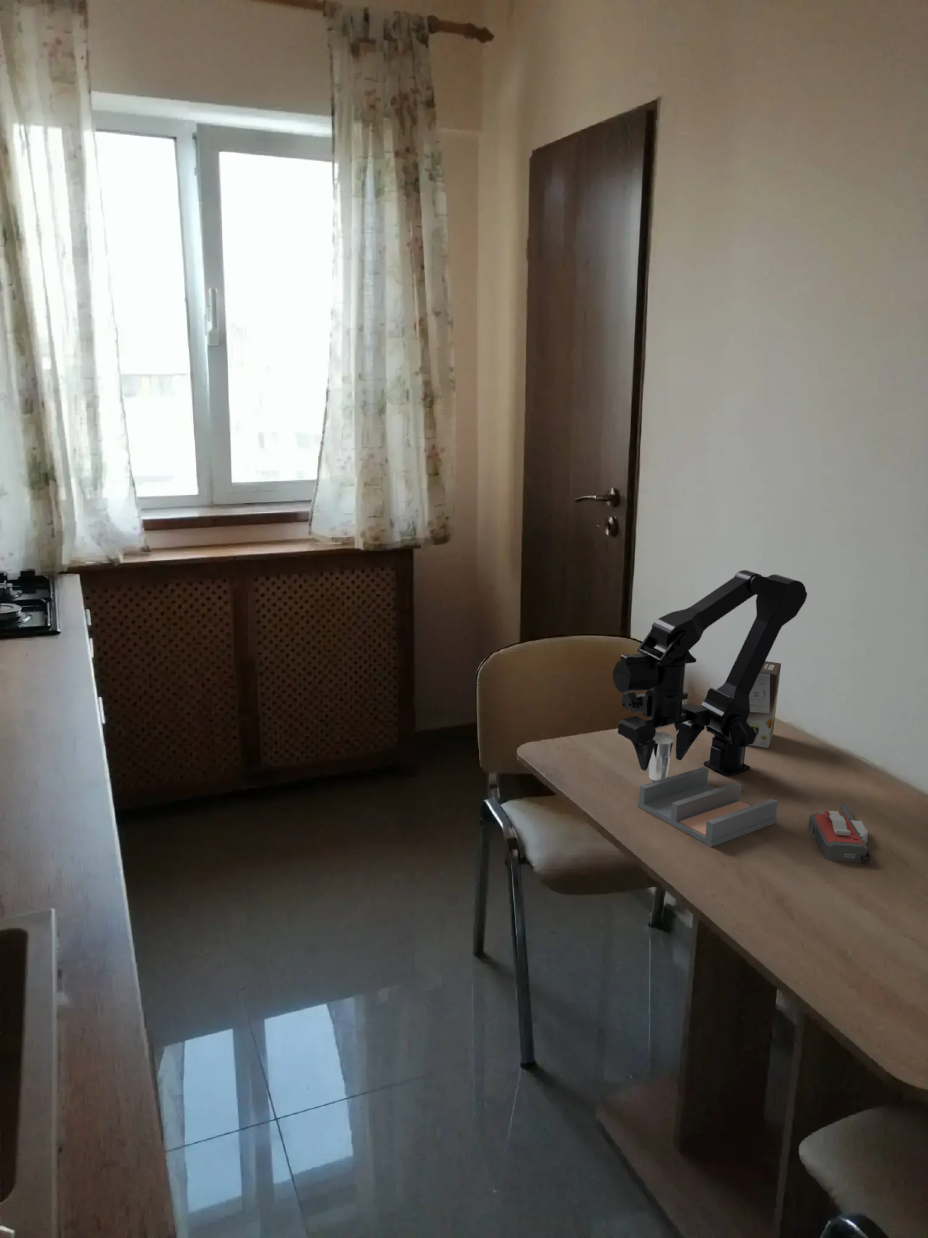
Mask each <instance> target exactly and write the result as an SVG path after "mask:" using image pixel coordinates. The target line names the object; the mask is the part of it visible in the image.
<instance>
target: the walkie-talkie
mask: <svg viewBox="0 0 928 1238" xmlns="http://www.w3.org/2000/svg"><path fill="white" fill-rule="evenodd" d="M839 808H840V809H841V811H842V813H843V814H842V813H841V811H837V810H825V811H824V813H818V812H817V813H816V812H815V813H811V814H810V815H809V820H808V827H807V828H808V830H809V832H810V833H811V835H812V837H813V839H814V841H815V843H816V845H817V847H818V848H819V850H820V852H821V854H822V856H823V858H824V859H826V860H828V861H839V862H850V863H851V862H853V863H871V862H872V855H871V854H870V852H869V847H868V845H866V844H867V842H868V836H869V831H868V830H867V828H866V826H865V825H864V824H865V823H864V822H863V821H862V820H857V819H855V818H854V816H853V815H852V812H851V811H850V810H849V808H848V807H847V805H846V803H844V802H841V803H840V804H839Z"/></svg>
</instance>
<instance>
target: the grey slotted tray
mask: <svg viewBox="0 0 928 1238" xmlns="http://www.w3.org/2000/svg"><path fill="white" fill-rule="evenodd" d="M708 777H709V768H708V767H707V768H706V767H705V766H702V767H698V768H696V769H691V770H688V771H686V772H682V773H679V774H675V775H671V776H669V777H668V776H667V778H665V779H661V780H658V781H651V782H647V783H645V784H642V785H639V795H638V801H637V807H638V808H640V809H642V810H643V811H645V812H647V813H649V814H650V815H652V816H654V817H657V818H658V819H660V820H662V821H663V822H665V823H667V824H669V825H670V826H672V827H674V828H676V829H678V830H679V831H681V832H683V833H685V834H687V835H689V836H691V837H692V838H694V839H696V840H698V841H700V842H701V843H704V844H705V845H707V846H709V847H711V848H713V847H715V846H718V845H721V844H723V843H726V842H729V841H731V840H734V839H737V838H740V837H742V836H745V835H747V834H748V835H749V834H750V833H753V832H755V831H759V830H761V829H764V828H766V827H770V826H772V825H774V824H776V823H777V809H778V800H776V799H773V798H769V799H766V800H763V801H760V802H758V803H755V804H752V805H751V804H749V803H747V802H746V801H745V802H744V801H743V800H741V795H742V786H743V785H742V784H741V783H739V782H737V781H735V782H732V783H729V784H726V785H723V786H720V787H717V788H715V787H714V786H712V785H710V784H708V780H709V779H708Z"/></svg>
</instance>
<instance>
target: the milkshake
mask: <svg viewBox="0 0 928 1238" xmlns="http://www.w3.org/2000/svg"><path fill="white" fill-rule="evenodd" d="M678 731H679V730H678ZM677 733H678V732H676V734H675V735H674V737H673V735H671V734H670V733H668V732H666V731H663V730H662V731H656V734H655V737H654V738H653V740H655V741H656V742H655V746H654V749H653V752H652V755H651V759H650V762H649V765H648V777H649V779H650V780H651V781H653V782H655V781H658V780H661V779H665V778H668V773H669V767H670V761H671V755H672V751H673V744H674V740H675V739H676V735H677Z"/></svg>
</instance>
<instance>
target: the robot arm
mask: <svg viewBox="0 0 928 1238" xmlns="http://www.w3.org/2000/svg"><path fill="white" fill-rule="evenodd" d="M754 596H756V599H755V608H756V616H755V619H754V621H753V623H752V626H751V627H750V630H749V632H748V634H747V635H746V638H745V640H744V642H743V644H742V646H741V648H740V650H739V651H738V652H739V653H738V654H737V657H736V659H735V661H734V663H733V665H732V668H731V669H730V672H729V673H728V676H727V678H726V680H725V682H724V683H723V684H722V685H721V686H720V687H718V688H717V689H715V688H713V687H709V689H708V691H707V694H706V696H705V698H704V700H703V702H702V703H701V704H700V706H699V705H696V704H694V703H692V702H688V703H684V704H683V700H688V697H689V693H688V692H684V688H685V687H684V686H685V674H686V665H687V664H694V663H696V662H697V659H696V658H695V656H693V655H692V653H691V652H690V650H691V649H692V648H693V647H694V646H695V645H696V644H697V643H698V642H699V641H700V640H701V638H702V636H703V633H704V631H706V629H708V628H709V627H711V626H712V625H714V624H715V623H716V622H718V621H719V620H720V619H722V618H723V617H725V616H727V614H729V613H731V612H732V611H733V610H735V609H736V608H737V607H739V606H741V605H742V604H744V603H745V602H746V601H748V600H749V599H751V598H752V597H754ZM807 597H808V592H807V590H806V586H805V585H804V583H803V582H802V581H799V580H796V579H793V578H789V577H788V576H787V577H786V576H783V575H780V574H776V573H775V574H774V573H773V574H771V575H769V576H763V575H762V574H759V573H757V572H754V571H750V570H747V569H744V570H740V571H738V572H736V573H735V574H734V576H733V577H732V578H730V579H729V580H727V582H725V583H724V584H722V585H720V586H719V587H717V588H716V589H714V590H713V591H712V592H710V593H709V594H707V595H705V597H703V598H702V599H700V600H698V601H697V602H696V603H694V604H693V605H691V606H689V607H687V608H685V609H684V608H683V609H680V610H675V611H671V612H669V613H667V614H665V615H663V616H660V617H658V618H657V619H656V620H654V622H653V623H652V624H651V629H650V631H649V632H648V634H646V637H644V639H643V640H642V642H641V643H640V645H639V646H638V648H637V653H634V654H633V653H632V654H629V653H623V654H620V660H619V661H617V662H616V664H615V666H614V668H613V669H612V680H613V684H614V686H615V688H616V690H617V691H618V692H620V693H622V698H621V706H622V709H623V710H624V711H628V712H629V714H633V713H641V716H644V717H646V718H647V717H649V720H645V719H643V718H641V717H638V716H636V715H635V716H630V717H627V718H622V719H621V720H620V721H618V726H617V727H618V728H617V734H619V735H620V736H623V737H624V738H625V739H627V740H629V741H630V742H631V743H632V746H633V748H634V751H635V753H636V756H637V760H638V762H639V763H638V764H639V766H640V769H641V770H642V771H644V772H646V771H647V769H649V762H650V759H651V755H652V752H653V749H654V746H655V742H656V741H655V740H653V738H654V737H655V734H656V732H657V731H656V730H659V729H662V728H667V727H671V726H674V728H675V731H676V733H677V732H678V733H677V735H676V734H675V735H676V736H675V758H676V760H678V761H683V759H684V757H685V756H686V754H687V753H688V751H689V749H690V748H691V746H692V745H693V743H694V742H695V741H696V739H697V738H698V737H699V736H700V733H701V732H702V731H704V730H706V732H707V733H710V734H712V735H714V736H713V737H711V739H712V740H711V746H710V751H709V759H708V760H706V761H704V762H703V765H704V766H706V767H707V768H710V769H712V770H715V771H717V772H718V773H721V774H723V775H726V776H733V775H736V774H739V773H741V772H745V771H748V770H751V766H750V765H747V764H745V757H746V749H747V747H748V746H750V745H749V744H753V743H754V740H755V738H756V735H757V733H756V732H755V731H754V730H753V729H752V728H751V727H750V726H749V724H748V723H747V719H748V716H749V713H750V703H749V694H750V692H751V690H752V688H753V686H754V683H755V681H756V679H757V677H758V675H759V673H760V671H761V669H762V667H763V665H764V663H765V661H767V658H768V656H769V654H770V652H771V651H772V648H773V646H774V644H775V641H776V639H777V637H778V635H779V633H780V631H781V629H782V627H783V626H784V625H786V624H788V623H789V621H791V620H792V619H794V618H795V617H796V616H797V615H798V613H799V612H800V610H801V608H802V607H803V605H804V604H805V602H806V600H807ZM655 647H658V648H660V649H662V650H664V651H662V650H659V649H657V648H655ZM640 691H645V692H644V693H638V694H636V692H640ZM678 730H679V731H678Z"/></svg>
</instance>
